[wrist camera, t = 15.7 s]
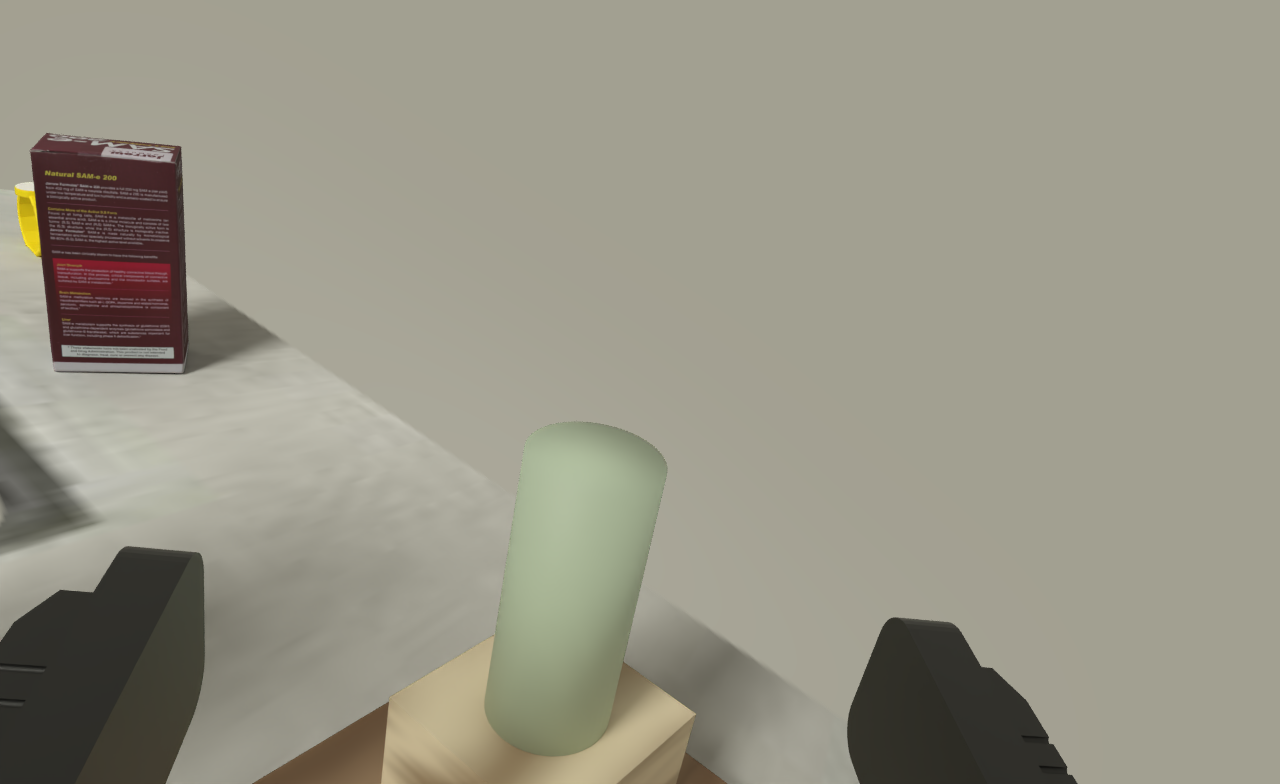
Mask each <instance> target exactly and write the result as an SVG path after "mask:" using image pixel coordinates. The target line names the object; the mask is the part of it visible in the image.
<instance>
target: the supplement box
mask: <svg viewBox="0 0 1280 784" xmlns="http://www.w3.org/2000/svg"><path fill="white" fill-rule="evenodd" d="M30 153H31V161H32V171H33V180H34V191H35V201H36V210H37V220H38V230H39V238H40V248H41V257H42V266H43V275H44V283H45V293H46V303H47V313H48V323H49V332H50V343H51V352H52V358H53V367H54V371H75V372H140V373H183V372H184V369H185V364H186V358H187V352H188V316H187V289H186V263H185V230H184V207H183V206H184V205H183V182H182V181H183V179H182V159H181V158H182V157H181V147H180V146H172V145H162V144H151V143H140V142H130V141H120V140H109V139H98V138H87V137H76V136H67V135H57V134H50V133H46V134H45V135H44V136H43V137H42V138H41V139H40V140H39V141H38V143H37V144H36V145H35V146H34V147H33V148H32V149H30Z"/></svg>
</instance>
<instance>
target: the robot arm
mask: <svg viewBox="0 0 1280 784" xmlns="http://www.w3.org/2000/svg"><path fill="white" fill-rule="evenodd" d="M204 660H205V644H204V568H203V560H202V556H201V555H200V553H197V552H186V551H175V550H163V549H152V548H141V547H130V546H127V547H124V548H123V549H122V550H121V551H120V552H119V553H118V554H117V556H116V557H115V559H114V560H113V562H112V563H111V565H110V567H109V568H108V570H107V571H106V573H105V575H104V576H103V578H102V579H101V581H100V583H99V584H98V586H97V587H96V589H95V591H94V592H93V593H92V592H80V591H67V590H59V591H58V592H57V593H55V594H54V595H52V596H51V597H49V598H48V599H47V600H45V601H44V602H42V603H41V604H39V605H38V606H37V607H35V608H34V609H32V610H31V611H30V612H28V613H27V614H25V615H24V616H22V617H21V618H20V619H18V620H17V621H15V622H14V623H13V625H12V626H11V628H10V629H9V630H8V632H7V633H6V635H5V636H4V637H3V639H2V640H1V642H0V784H165V783H166V781H167V779H168V776H169V774H170V771H171V769H172V766H173V764H174V762H175V759H176V757H177V754H178V752H179V749H180V747H181V745H182V742H183V740H184V737H185V735H186V732H187V730H188V727H189V725H190V723H191V720H192V718H193V715H194V712H195V709H196V706H197V702H198V698H199V694H200V690H201V685H202V679H203V672H204ZM847 738H848V747H849V753H850V757H851V760H852V763H853V766H854V769H855V772H856V774H857V777H858V780H859V782H860V784H1077V783H1076V781H1075V779H1074V777H1073V776H1072V775H1068V774H1067V766H1066V764H1065V763H1064V761H1063V759H1062V758H1061V756H1060V755H1059V753H1058V751H1057V750H1056V748H1055V746H1054V745H1053V744H1049V742H1048V738H1049V737H1048V735H1047V733H1046V732H1045V730H1044V729H1043V727H1042V725H1041V724H1040V722H1039V720H1038V719H1037V717H1036V715H1035V714H1034V712H1033V710H1032V709H1031V707H1030V706H1029V704H1028V702H1027V701H1026V700H1025V699H1024V698H1023V697H1022V696H1021V695H1020V694H1019V693H1018V692H1017V691H1016V690H1014V689H1013V687H1011V686H1010V685H1009V684H1008V683H1007V682H1006V681H1005V680H1004V679H1003V678H1002V677H1001V676H1000V675H999V674H998V673H997V672H996V671H994V669H992V668H985V667H981V666H980V664H979V662H978V661H977V659H976V657H975V655H974V654H973V652H972V650H971V649H970V647H969V645H968V643H967V642H966V640H965V638H964V636H963V635H962V633H961V632H960V630H959V629H958V628H957V627H956V626H955V625H954V624H952V623H949V622H939V621H929V620H918V619H906V618H891V619H889V620H888V621H887V622H886V623H885V624H884V626H883V628H882V630H881V632H880V634H879V637H878V639H877V642H876V645H875V647H874V649H873V652H872V654H871V657H870V660H869V662H868V664H867V667H866V669H865V672H864V675H863V677H862V680H861V682H860V685H859V687H858V690H857V692H856V695H855V697H854V700H853V702H852V705H851V708H850V712H849V717H848V727H847Z"/></svg>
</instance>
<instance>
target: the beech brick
mask: <svg viewBox="0 0 1280 784" xmlns="http://www.w3.org/2000/svg"><path fill="white" fill-rule="evenodd" d="M494 637H495V634H494V635H493V636H491V637H489V638H488V639H486V640H484V641H483V642H481V643H479V644H478V645H476V646H474V647H473V648H471V649H469V650H468V651H466V652H464V653H463V654H461V655H459V656H458V657H456V658H454V659H453V660H451V661H449V662H448V663H446V664H444V665H442V666H441V667H439V668H437V669H436V670H434V671H432V672H431V673H429V674H427V675H426V676H424V677H422V678H421V679H419V680H417V681H416V682H414V683H412V684H411V685H409V686H407V687H406V688H404V689H402V690H401V691H399V692H397V693H396V694H394V695H392V696H391V697H389V707H388V718H387V728H386V739H385V749H384V759H383V770H382V780H381V784H676V782H677V779H678V775H679V772H680V768H681V765H682V761H683V758H684V754H685V751H686V747H687V744H688V740H689V737H690V733H691V730H692V726H693V723H694V719H695V716H696V714H695V713H694V712H693V711H691V710H690V709H688V708H687V707H686V706H684V705H683V704H681V703H680V702H679V701H677V700H676V699H674V698H673V697H672V696H670V695H669V694H667V693H666V692H665V691H663V690H662V689H660V688H659V687H658V686H656V685H655V684H653V683H652V682H651V681H649V680H648V679H646V678H645V677H644V676H642V675H641V674H639V673H638V672H637V671H635V670H634V669H633V668H631V667H630V666H628V665H627V664H626V663H624V662H623V664H622V668H621V673H620V677H619V681H618V686H617V690H616V694H615V698H614V703H613V707H612V711H611V715H610V720H609V723H608V727H607V729H606V731H605V733H604V734H603V735H602V737H601V738H600V739H599V740H598V741H597V742H596V743H595V744H593V745H592V746H590V747H589V748H587V749H585V750H583V751H580V752H578V753H574V754H570V755H565V756H542V755H536V754H532V753H528V752H525V751H523V750H520V749H518V748H516V747H514V746H512V745H510V744H509V743H508V742H506V741H505V740H503V739H502V738H501V737H500V736H499V735H498V734H497V733H496V732H495V731H494V730H493V728H492V727H491V725H490V724H489V721H488V719H487V717H486V713H485V707H484V702H485V694H486V688H487V681H488V675H489V669H490V662H491V656H492V650H493V643H494Z"/></svg>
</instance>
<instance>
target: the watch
mask: <svg viewBox="0 0 1280 784" xmlns="http://www.w3.org/2000/svg"><path fill="white" fill-rule="evenodd" d="M15 194H16V195H18V197H17V210H18V216H19V217H18V219H19V224H20V228H21V231H22V236H23V238H24V241H25V244H26V246H28V247H29V248H30V249H31V251H32V252H33V253H34V254H35V255H36V256H37V257H39V256H41V248H40V238H39V230H38V220H37V210H36V201H35V191H34V182H26V183H19V184H16V185H15Z"/></svg>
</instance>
